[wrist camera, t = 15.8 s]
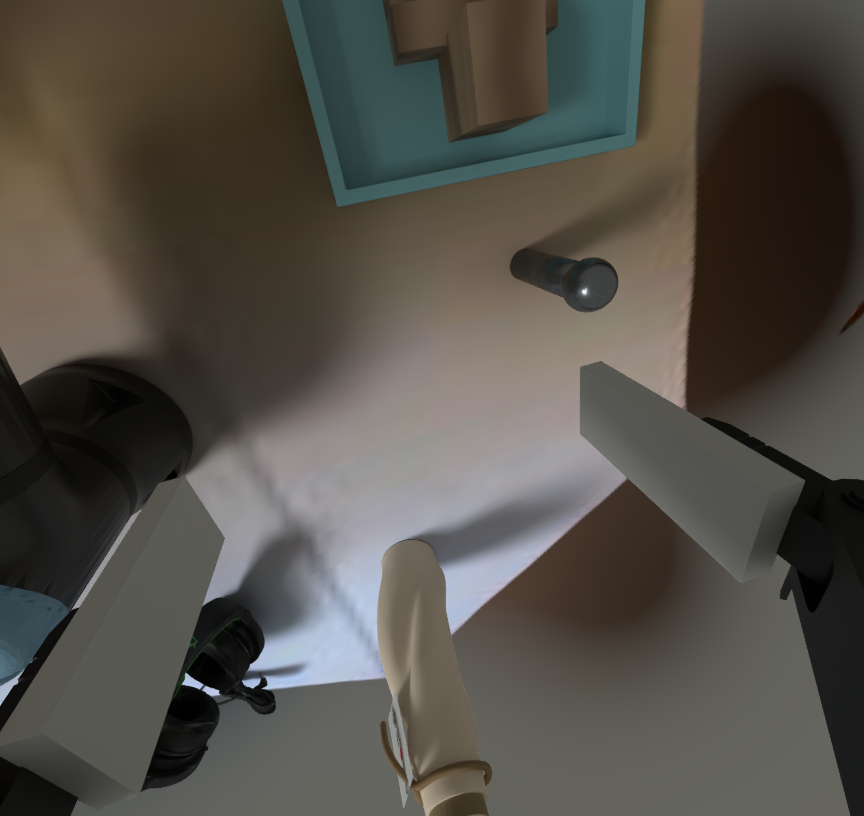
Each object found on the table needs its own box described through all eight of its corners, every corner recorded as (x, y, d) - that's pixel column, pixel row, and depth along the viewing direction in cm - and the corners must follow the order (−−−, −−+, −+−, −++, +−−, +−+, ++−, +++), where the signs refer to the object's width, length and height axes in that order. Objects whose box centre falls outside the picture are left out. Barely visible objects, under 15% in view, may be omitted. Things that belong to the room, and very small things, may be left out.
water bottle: (373, 589, 57) (399, 870, 33) (362, 547, 53) (382, 834, 29) (440, 572, 59) (511, 830, 35) (434, 530, 55) (512, 790, 30)
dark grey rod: (507, 288, 41) (579, 323, 29) (503, 248, 39) (579, 267, 27) (542, 280, 41) (628, 311, 29) (541, 240, 39) (632, 255, 27)
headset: (235, 612, 65) (182, 571, 42) (307, 647, 64) (293, 625, 41) (151, 743, 54) (18, 784, 31) (237, 788, 54) (164, 863, 31)
